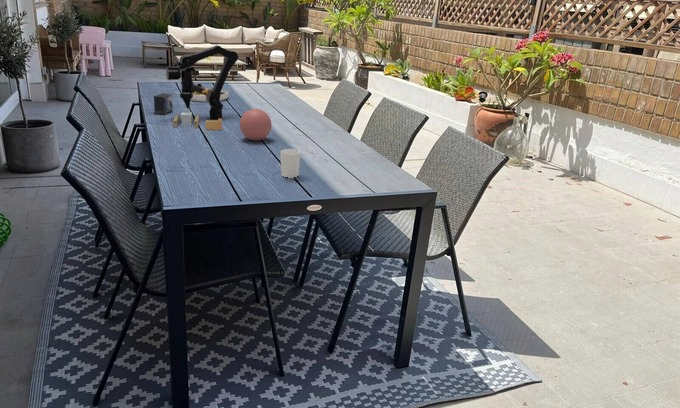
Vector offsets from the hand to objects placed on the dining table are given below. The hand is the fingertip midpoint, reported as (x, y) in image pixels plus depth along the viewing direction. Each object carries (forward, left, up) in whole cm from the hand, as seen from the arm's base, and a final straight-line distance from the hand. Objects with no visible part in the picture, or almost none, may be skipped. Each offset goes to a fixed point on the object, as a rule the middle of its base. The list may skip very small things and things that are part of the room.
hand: (188, 108), depth 297 cm
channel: (0, +12, -6) cm, 13 cm away
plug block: (0, +10, -7) cm, 12 cm away
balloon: (-35, +41, -7) cm, 54 cm away
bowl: (-6, -67, -7) cm, 68 cm away
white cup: (-47, +100, -7) cm, 111 cm away
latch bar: (-14, +22, -6) cm, 27 cm away
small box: (+15, -17, -7) cm, 24 cm away
